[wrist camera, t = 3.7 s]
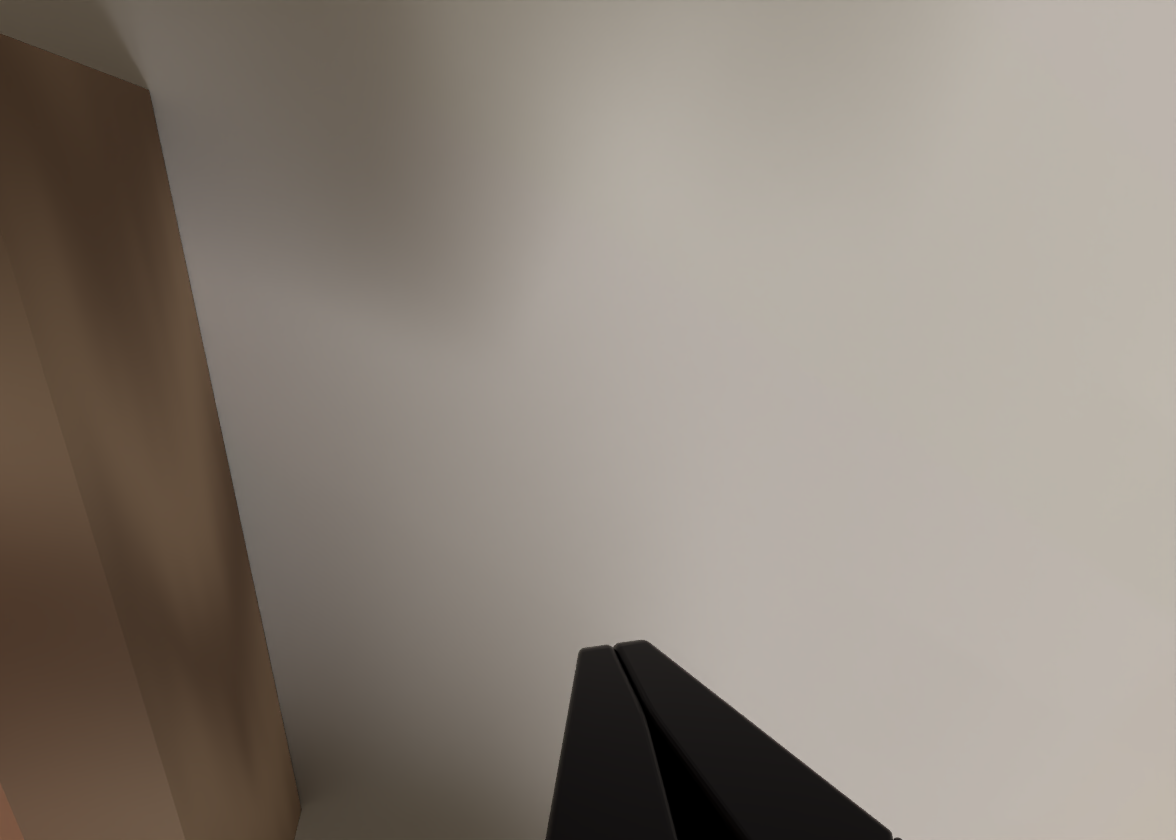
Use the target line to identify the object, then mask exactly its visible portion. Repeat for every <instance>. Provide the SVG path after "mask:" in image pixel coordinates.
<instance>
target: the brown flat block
mask: <svg viewBox="0 0 1176 840" xmlns="http://www.w3.org/2000/svg"><path fill="white" fill-rule="evenodd" d="M0 783H1V786H2V788H3V790H4V793H5V795H6V797H7V800H8V802H9V805H10V807H11V809H12V812H13V814H14V816H15V819H16V821H17V824H18V826H19V828H20V831H21V833H22V835H23V838H24V840H294V839H295V835H296V830H297V826H298V822H299V818H300V814H301V805H300V800H299V796H298V791H297V786H296V781H295V777H294V772H293V767H292V763H291V758H290V753H289V748H288V744H287V739H286V734H285V729H284V725H283V720H282V715H281V711H280V706H279V701H278V696H277V692H276V687H275V682H274V678H273V673H272V668H271V663H270V659H269V654H268V649H267V645H266V640H265V635H264V630H263V626H262V621H261V616H260V612H259V607H258V602H257V597H256V593H255V588H254V583H253V579H252V574H251V569H250V564H249V560H248V555H247V550H246V546H245V541H244V536H243V531H242V527H241V522H240V517H239V513H238V508H237V503H236V498H235V494H234V489H233V484H232V480H231V475H230V470H229V465H228V461H227V456H226V451H225V446H224V442H223V437H222V432H221V428H220V423H219V418H218V413H217V409H216V404H215V399H214V395H213V390H212V385H211V380H210V376H209V371H208V366H207V362H206V357H205V352H204V347H203V343H202V338H201V333H200V329H199V324H198V319H197V314H196V310H195V305H194V300H193V296H192V291H191V286H190V281H189V277H188V272H187V267H186V263H185V258H184V253H183V248H182V244H181V239H180V234H179V230H178V225H177V220H176V215H175V211H174V206H173V201H172V196H171V192H170V187H169V182H168V178H167V173H166V168H165V163H164V159H163V154H162V149H161V145H160V140H159V135H158V130H157V126H156V121H155V116H154V112H153V107H152V102H151V97H150V93H149V90H148V89H145V88H142V87H140V86H137V85H135V84H132V83H129V82H127V81H124V80H121V79H119V78H116V77H113V76H111V75H108V74H106V73H103V72H100V71H98V70H95V69H92V68H90V67H87V66H84V65H82V64H79V63H76V62H74V61H71V60H69V59H66V58H63V57H61V56H58V55H55V54H53V53H50V52H47V51H45V50H42V49H39V48H37V47H34V46H32V45H29V44H26V43H24V42H21V41H18V40H16V39H13V38H10V37H8V36H5V35H2V34H0Z"/></svg>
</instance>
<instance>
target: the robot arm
mask: <svg viewBox="0 0 1176 840" xmlns="http://www.w3.org/2000/svg"><path fill="white" fill-rule="evenodd" d="M545 840H902V839H901V838H898V837H897V838H894V839H893V837H892V833H891V831H890V830H889V829H887V828H886V827H885V826H884V825H882V824H881V823H880V822H878V821H877V820H876V819H875V818H873V817H872V816H871V815H870V814H868V813H867V812H866V811H864V810H863V809H862V808H861V807H859V806H858V805H857V804H855V803H854V802H853V801H852V800H850V799H849V798H848V797H846V796H845V795H844V794H843V793H841V792H840V791H839V790H838V789H836V788H835V787H834V786H832V785H831V784H830V783H829V782H827V781H826V780H825V779H823V778H822V777H821V776H820V775H818V774H817V773H816V772H814V771H813V770H812V769H811V768H809V767H808V766H807V765H806V764H804V763H803V762H802V761H800V760H799V759H798V758H797V757H795V756H794V755H793V754H791V753H790V752H789V751H788V750H786V749H785V748H784V747H783V746H781V745H780V744H779V743H777V742H776V741H775V740H774V739H772V738H771V737H770V736H768V735H767V734H766V733H765V732H763V731H762V730H761V729H759V728H758V727H757V726H756V725H754V724H753V723H752V722H751V721H749V720H748V719H747V718H745V717H744V716H743V715H742V714H740V713H739V712H738V711H736V710H735V709H734V708H733V707H731V706H730V705H729V704H727V703H726V702H725V701H724V700H722V699H721V698H720V697H719V696H717V695H716V694H715V693H713V692H712V691H711V690H710V689H708V688H707V687H706V686H704V685H703V684H702V683H701V682H699V681H698V680H697V679H696V678H694V677H693V676H692V675H690V674H689V673H688V672H687V671H685V670H684V669H683V668H681V667H680V666H679V665H678V664H676V663H675V662H674V661H672V660H671V659H670V658H669V657H667V656H666V655H665V654H664V653H662V652H661V651H660V650H658V649H657V648H656V647H655V646H653V645H652V644H651V643H649V642H648V641H645V640H636V641H629V642H622V643H617V644H616V645H615V646H614V647H611V646H609V645H601V646H594V647H587V648H583V649H581V650H580V651H579V654H578V659H577V664H576V670H575V676H574V681H573V687H572V693H571V698H570V704H569V709H568V715H567V721H566V726H565V732H564V738H563V743H562V749H561V755H560V760H559V766H558V771H557V777H556V783H555V788H554V794H553V800H552V805H551V811H550V817H549V822H548V828H547V833H546V839H545Z"/></svg>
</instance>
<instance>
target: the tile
mask: <svg viewBox="0 0 1176 840" xmlns="http://www.w3.org/2000/svg"><path fill="white" fill-rule="evenodd" d="M0 840H24V838H23V835H22V833H21V831H20V828H19V826H18V824H17V821H16V819H15V816H14V814H13V812H12V809H11V807H10V805H9V802H8V800H7V797H6V795H5V793H4V790H3V788H2V786H1V783H0Z"/></svg>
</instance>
